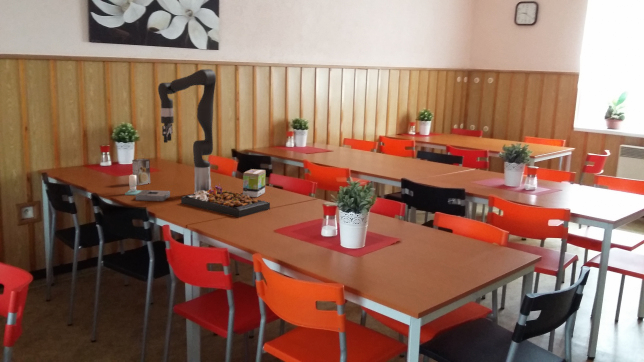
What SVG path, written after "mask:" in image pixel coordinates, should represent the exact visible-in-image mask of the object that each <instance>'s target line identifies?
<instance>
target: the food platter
mask: <svg viewBox="0 0 644 362" xmlns="http://www.w3.org/2000/svg"><path fill="white" fill-rule="evenodd" d="M218 184H219V186H218V185H214V187H212V185H211V186H210V188H211V189H210V190H208V191H204V190H203V191H198V192H196V193H195V192H194V193H191V194H188V195H185V196H181V197H180V202H181V204H180V205H186V206H190V207H194V208H198V209H203V210H207V211H211V212H214V213H219V214H223V215H227V216H232V217H235V218H242V217H246V216H250V215H253V214H257V213H261V212H264V211H269V210H271V202H269V201H265V200H260V199H257V198H251V197H249V196H248V195H243V193H242V194H241V193H240V192H235V191H234V192H233V191H230V190H223V188H222V187H221V185H220V182H218ZM268 209H269V210H268Z"/></svg>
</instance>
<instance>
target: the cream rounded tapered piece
mask: <svg viewBox="0 0 644 362" xmlns="http://www.w3.org/2000/svg"><path fill="white" fill-rule="evenodd" d="M128 179H129V180H128V185H129V190H130V192H136V190H137V186H138V185H137V179H136V175H133V174H130V175H129V176H128Z"/></svg>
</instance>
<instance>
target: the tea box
mask: <svg viewBox="0 0 644 362" xmlns="http://www.w3.org/2000/svg"><path fill="white" fill-rule="evenodd" d="M266 174H267V173H266V169H256V168H255V169H254V168H253V169H252V168H250V169H249V170H246V171H245V172H243V176H242V177H243V178H242V182H243V183H242V195H248V196H249V197H250V198H251V197H252V198H258V197H259V196H262V195H263V194H265V193H266Z"/></svg>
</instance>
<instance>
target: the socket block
mask: <svg viewBox="0 0 644 362" xmlns="http://www.w3.org/2000/svg"><path fill="white" fill-rule="evenodd" d="M170 197H171V191H170V190H156V189H155V190H153V189H151V190H150V189H143V190H142V191H141V192H140V193H138V194H137V195H135V201H143V202H144V201H149V202H150V201H151V202H165V201H166V200H168V198H170Z"/></svg>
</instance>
